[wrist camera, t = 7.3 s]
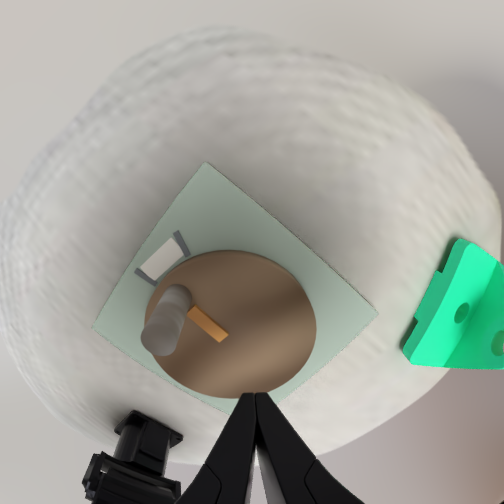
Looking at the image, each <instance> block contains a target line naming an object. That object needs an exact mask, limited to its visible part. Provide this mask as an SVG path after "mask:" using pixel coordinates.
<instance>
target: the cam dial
mask: <svg viewBox="0 0 504 504" xmlns="http://www.w3.org/2000/svg"><path fill="white" fill-rule="evenodd" d="M316 332H317V327H316V318H315V314H314V310H313V308H312V305H311V303H310V300H309V299H308V297H307V295H306V293H305V291H304V289H303V288H302V286H301V285H300V283H299V282H298V281H297V280H296V278H295V277H294V276H293V275H292V274H291V273H290V272H289V271H287V270H286V269H285V268H284V267H282V266H281V265H279V264H278V263H276V262H274V261H272V260H270V259H268V258H266V257H264V256H261V255H258V254H255V253H251V252H246V251H241V250H216V251H211V252H205V253H202V254H199V255H196V256H193V257H191V258H189V259H187V260H185V261H183V262H182V263H180V264H179V265H177V266H176V267H174V268H173V269H172V270H171V271H170V272H169V273H168V274H167V275H166V276H165V277H164V278H163V280H162V281H161V282H160V284H159V285H158V287H157V288H156V290H155V291H154V293H153V295H152V296H151V298H150V300H149V303H148V305H147V308H146V313H145V319H144V329H143V331H142V332H141V336H140V338H141V342H142V345H143V346H144V348H145V349H146V350H147V351H149V352H150V353H151V354H152V355H153V357H154V359H155V360H156V362H157V363H158V364H159V366H160V367H161V368H162V369H163V370H164V371H165V372H166V373H167V374H168V375H169V376H170V377H171V378H173V379H174V380H175V381H176V382H178V383H180V384H181V385H183V386H185V387H187V388H189V389H191V390H193V391H195V392H198V393H201V394H204V395H208V396H211V397H217V398H227V399H239V398H240V396H241V394H242V393H244V392H253V393H254V394H255V393H256V392H270V391H272V390H274V389H276V388H278V387H280V386H282V385H283V384H285V383H287V382H288V381H289V380H290V379H292V378H293V377H294V376H295V375H296V374H297V373H298V372H299V371H300V370H301V369H302V368H303V366H304V365H305V364H306V362H307V360H308V359H309V357H310V355H311V353H312V350H313V348H314V344H315V340H316Z"/></svg>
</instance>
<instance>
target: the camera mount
mask: <svg viewBox="0 0 504 504" xmlns="http://www.w3.org/2000/svg"><path fill="white" fill-rule="evenodd" d="M414 317H415V318H416V319H417V320H418V323H417V325H416V327H415V328H414V330H413V332H412V334H411V335H410V337H409V339H408V340H407V342H406V344H405V345H404V347H403V354H404V355H405V356H406V358H407V359H408V360H409V361H410V363H411V364H413V365H422V366H433V367H446V368H464V369H504V352H503V343H504V266H503V264H501V263H500V262H499V261H497V260H496V259H495V258H493V257H492V256H491V255H489V254H488V253H487V252H485V251H484V250H482V249H481V248H480V247H478V246H477V245H475V244H474V243H471V242H469V241H467V240H464V239H458V240H457V241H456V242H455V244H454V245H453V248H452V250H451V253H450V256H449V258H448V260H447V263H446V265H445V268H444V270H443V272H442V273H441V272H439V271H437V270H436V271H435V274H434V276H433V278H432V280H431V283H430V285H429V287H428V289H427V291H426V293H425V295H424V297H423V299H422V301H421V303H420V305H419V307H418V309H417V311H416V313H415V315H414Z"/></svg>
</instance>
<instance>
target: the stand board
mask: <svg viewBox="0 0 504 504" xmlns="http://www.w3.org/2000/svg"><path fill="white" fill-rule="evenodd" d="M216 250H241V251H246V252H251V253H255V254H258V255H261V256H264V257H266V258H268V259H270V260H272V261H274V262H276V263H278V264H279V265H281V266H282V267H284V268H285V269H286V270H287V271H289V272H290V273H291V274H292V275H293V276H294V277H295V278H296V280H297V281H298V282H299V283H300V285H301V286H302V288H303V289H304V291H305V293H306V295H307V297H308V299H309V300H310V303H311V305H312V308H313V310H314V314H315V318H316V327H317V332H316V340H315V344H314V348H313V350H312V353H311V355H310V357H309V359H308V360H307V362H306V364H305V365H304V366H303V368H302V369H301V370H300V371H299V372H298V373H297V374H296V375H295V376H294V377H293V378H292V379H290V380H289V381H288V382H287V383H285V384H283V385H282V386H280V387H278V388H276V389H274V390H272V391H270V392H267V393H268V394H269V396H270V397H271V398H272V400H273V401H274V403H275V404H277V403H279V402H280V401H281V400H283V399H284V398H285V397H287V396H288V395H289V394H291V393H292V392H293V391H294V390H296V389H297V388H298V387H300V386H301V385H302V384H303V383H304V382H306V381H307V380H308V379H309V378H311V377H312V376H313V375H314V374H315V373H317V372H318V371H319V370H320V369H321V368H322V367H324V366H325V365H326V364H327V363H328V362H329V361H330V360H331V359H333V358H334V357H335V356H336V355H337V354H338V353H339V352H340V351H341V350H343V349H344V348H345V347H346V346H347V345H348V344H349V343H350V342H351V341H352V340H353V339H354V338H355V337H356V336H357V335H358V334H359V333H360V332H361V331H362V330H363V329H364V328H365V327H366V326H367V325H368V324H369V323H370V322H371V321H372V320H373V319H374V318H375V317H376V316H377V315H378V314H379V313H378V312H377V311H376V310H375V309H374V308H373V307H372V306H371V305H370V304H369V303H368V302H367V301H366V300H365V299H364V298H363V297H362V296H361V295H360V294H359V293H358V292H357V291H356V290H354V289H353V288H352V287H351V286H350V285H349V284H348V283H347V282H346V281H345V280H344V279H343V278H342V277H341V276H339V275H338V274H337V273H336V272H335V271H334V270H333V269H332V268H331V267H330V266H328V265H327V264H326V263H325V262H324V261H323V260H322V259H321V258H320V257H319V256H317V255H316V254H315V253H314V252H313V251H312V250H311V249H310V248H308V247H307V246H306V245H305V244H304V243H303V242H302V241H301V240H299V239H298V238H297V237H296V236H295V235H294V234H293V233H291V232H290V231H289V230H288V229H287V228H286V227H285V226H283V225H282V224H281V223H280V222H279V221H278V220H276V219H275V218H274V217H273V216H272V215H271V214H269V213H268V212H267V211H266V210H265V209H263V208H262V207H261V206H260V205H259V204H258V203H256V202H255V201H254V200H253V199H252V198H250V197H249V196H248V195H247V194H246V193H244V192H243V191H242V190H241V189H240V188H238V187H237V186H236V185H235V184H233V183H232V182H231V181H230V180H229V179H227V178H226V177H225V176H224V175H222V174H221V173H220V172H219V171H217V170H216V169H215V168H214V167H212V166H211V165H210V164H209V163H207V162H204V163H203V164H202V166H201V167H200V168H199V169H198V171H197V172H196V173H195V174H194V176H193V177H192V178H191V179H190V181H189V182H188V183H187V184H186V186H185V187H184V188H183V190H182V191H181V192H180V193H179V195H178V196H177V197H176V199H175V200H174V201H173V203H172V204H171V205H170V207H169V208H168V209H167V211H166V212H165V213H164V215H163V216H162V218H161V219H160V220H159V222H158V223H157V225H156V226H155V227H154V229H153V230H152V232H151V233H150V234H149V236H148V237H147V239H146V240H145V242H144V243H143V245H142V246H141V248H140V249H139V251H138V252H137V254H136V255H135V257H134V258H133V260H132V261H131V263H130V264H129V266H128V267H127V269H126V271H125V272H124V274H123V275H122V277H121V279H120V280H119V282H118V283H117V285H116V287H115V288H114V290H113V292H112V293H111V295H110V297H109V298H108V300H107V302H106V303H105V305H104V307H103V309H102V310H101V312H100V314H99V316H98V317H97V319H96V321H95V323H94V325H93V326H92V329H93V330H95V331H96V332H97V333H98V334H100V335H101V336H102V337H104V338H105V339H106V340H107V341H109V342H110V343H111V344H113V345H114V346H115V347H117V348H118V349H119V350H121V351H122V352H124V353H125V354H126V355H128V356H129V357H131V358H132V359H134V360H135V361H137V362H138V363H139V364H141V365H142V366H144V367H145V368H147V369H148V370H150V371H152V372H153V373H155V374H156V375H158V376H159V377H161V378H163V379H164V380H166V381H168V382H169V383H171V384H173V385H174V386H176V387H178V388H179V389H181V390H183V391H185V392H186V393H188V394H190V395H192V396H194V397H195V398H197V399H199V400H201V401H203V402H205V403H207V404H209V405H211V406H213V407H214V408H216V409H218V410H221V411H223V412H225V413H227V414H229V415H231V413H232V412H233V410H234V408H235V406H236V404H237V402H238V400H239V399H227V398H217V397H211V396H208V395H204V394H201V393H198V392H195V391H193V390H191V389H189V388H187V387H185V386H183V385H181V384H180V383H178V382H176V381H175V380H174V379H173V378H171V377H170V376H169V375H168V374H167V373H166V372H165V371H164V370H163V369H162V368H161V367H160V366H159V364H158V363H157V362H156V360H155V359H154V357H153V355H152V354H151V353H150V352H149V351H147V350H146V349H145V348H144V346H143V345H142V342H141V338H140V336H141V332H142V331H143V329H144V319H145V313H146V308H147V305H148V303H149V300H150V298H151V296H152V295H153V293H154V291H155V290H156V288H157V287H158V285H159V284H160V282H161V281H162V280H163V278H164V277H165V276H166V275H167V274H168V273H169V272H170V271H171V270H172V269H173V268H174V267H176V266H177V265H179V264H180V263H182V262H183V261H185V260H187V259H189V258H191V257H193V256H196V255H199V254H202V253H205V252H211V251H216Z"/></svg>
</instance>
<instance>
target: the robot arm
mask: <svg viewBox="0 0 504 504" xmlns="http://www.w3.org/2000/svg"><path fill="white" fill-rule="evenodd" d="M114 432H115V433H117V434H118V435H120V438H119V441H118V444H117V447H116V449H115V452H114V455H113V457H111V456H110V455H107V454H106V453H105V452H103V451H102V452H101V454H93V456H92V459H91V461H90V464H89V466H88V469H87V471H86V474H85V476H84V478H83V481H82V484H83V486H84V488H85V492H86V497H85V498H86V499H88V500H90V501H92V503H91V504H250V497H251V488H252V479H253V470H254V462H255V451H256V449H257V455H258V460H259V465H260V470H261V475H262V480H263V484H264V489H265V494H266V498H267V502H268V504H365V503H363V502H362V501H361V500H360V499H358V498H357V497H356V496H355V495H353V494H352V493H351V492H350V491H349V490H347V489H346V488H345V487H344V486H343V485H342V484H341V483H339V482H338V481H337V480H336V479H335V478H334V477H333V476H332V475H331V474H330V473H329V472H328V471H327V469H325V467H324V466H323V465H322V464H321V462H320V461H319V460H318V459H316V456H315V455H314V454H313V453H312V451H311V450H310V449H309V448H308V446H307V445H306V444H305V443H304V441H303V440H302V439H301V437H300V436H299V435H298V433H297V432H296V431H295V430H294V428H293V427H292V426H291V424H290V423H289V422H288V420H287V419H286V418H285V416H284V415H283V414H282V412H281V411H280V409H279V408H278V407H277V405H276V404H275V403H274V401H273V400H272V398H271V397H270V396H269V394H268V393H267V392H256V393H255V394H254V393H253V392H244V393H242V394H241V396H240V398H239V400H238V402H237V404H236V406H235V408H234V410H233V412H232V413H231V415H230V417H229V419H228V421H227V423H226V425H225V427H224V428H223V430H222V432H221V434H220V436H219V438H218V439H217V441H216V443H215V445H214V447H213V448H212V450H211V452H210V454H209V455H208V457H207V459H206V461H205V464H203V466H202V467H201V469H200V471H199V472H198V474H197V475H196V477H195V479H194V480H193V482H192V483H191V484H190V486H189V487H188V488H187V489H186V491H185V492H184V493H183V494H182V495H181V483H180V482H179V481H174V480H170V479H167V478H164V474H165V469H166V464H167V458H168V453H169V449H170V448H172V447H173V446H175V445H176V444H178V443H180V442H181V441H182V440H183V436H182V435H180V434H178V433H176V432H174V431H172V430H170V429H168V428H166V427H164V426H162V425H160V424H158V423H156V422H154V421H153V420H151V419H149V418H147V417H145V416H144V415H142V414H140V413H138V412H136V411H132V412H131V413H130V414H129V415H128V416H127V417H126V418H125V419H124V420H123V421H122V422H121V423H120V424H119V425H118V426H117V427H116V428H115V430H114ZM100 470H102V471H104V472H106V473H103V472H101V471H100ZM500 504H504V500H503V501H502V502H501V503H500Z"/></svg>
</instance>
